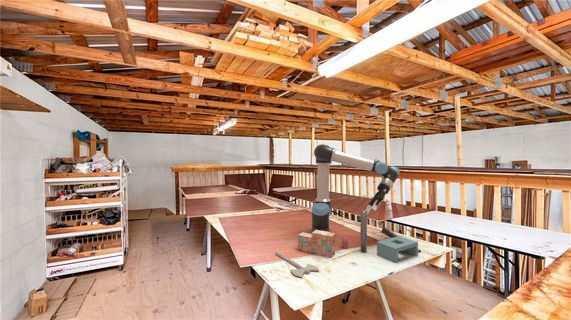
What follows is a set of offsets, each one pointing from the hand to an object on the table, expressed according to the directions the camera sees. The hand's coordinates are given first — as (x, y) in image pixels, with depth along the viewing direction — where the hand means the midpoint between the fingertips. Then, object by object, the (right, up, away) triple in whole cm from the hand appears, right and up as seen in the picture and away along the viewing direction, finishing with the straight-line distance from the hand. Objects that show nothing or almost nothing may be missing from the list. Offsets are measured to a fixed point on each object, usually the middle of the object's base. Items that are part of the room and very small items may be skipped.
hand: (369, 211), depth 154 cm
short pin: (-17, -21, -5) cm, 28 cm away
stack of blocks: (-35, -22, -12) cm, 43 cm away
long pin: (-7, -21, -11) cm, 25 cm away
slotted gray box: (+22, -22, +7) cm, 31 cm away
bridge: (+10, -21, -17) cm, 29 cm away
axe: (-50, -22, -28) cm, 61 cm away
